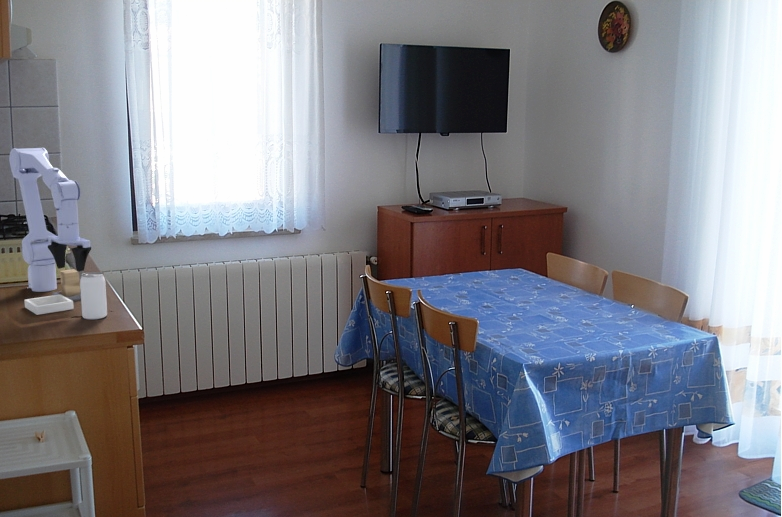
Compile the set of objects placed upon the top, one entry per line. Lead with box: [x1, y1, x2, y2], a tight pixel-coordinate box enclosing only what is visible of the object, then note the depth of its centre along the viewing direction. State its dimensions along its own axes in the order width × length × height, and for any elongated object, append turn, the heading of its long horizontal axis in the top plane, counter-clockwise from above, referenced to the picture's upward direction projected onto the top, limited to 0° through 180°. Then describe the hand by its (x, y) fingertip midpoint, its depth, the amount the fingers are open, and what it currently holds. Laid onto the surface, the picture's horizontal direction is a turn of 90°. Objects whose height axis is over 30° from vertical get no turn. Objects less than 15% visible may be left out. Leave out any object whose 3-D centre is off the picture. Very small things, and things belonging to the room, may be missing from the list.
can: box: [79, 271, 108, 321], centre depth 219 cm, size 6×6×12 cm
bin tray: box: [24, 294, 75, 315], centre depth 225 cm, size 10×10×3 cm
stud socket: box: [51, 290, 81, 302], centre depth 237 cm, size 9×9×2 cm
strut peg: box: [59, 268, 80, 296], centre depth 236 cm, size 4×4×8 cm
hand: (70, 269), depth 232 cm, fingers open, 7 cm apart
